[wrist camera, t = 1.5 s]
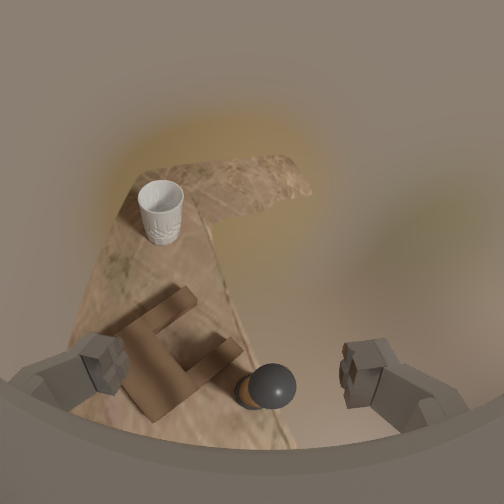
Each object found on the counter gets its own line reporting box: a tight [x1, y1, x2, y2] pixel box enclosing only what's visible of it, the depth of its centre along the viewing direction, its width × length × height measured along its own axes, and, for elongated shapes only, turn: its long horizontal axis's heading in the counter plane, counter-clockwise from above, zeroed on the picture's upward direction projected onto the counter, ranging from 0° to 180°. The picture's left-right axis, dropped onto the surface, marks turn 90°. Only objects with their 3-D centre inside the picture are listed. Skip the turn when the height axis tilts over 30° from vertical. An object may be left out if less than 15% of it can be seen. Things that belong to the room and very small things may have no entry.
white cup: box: [138, 180, 184, 245], centre depth 47 cm, size 8×8×10 cm
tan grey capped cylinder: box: [235, 363, 296, 410], centre depth 34 cm, size 7×6×11 cm
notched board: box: [113, 286, 244, 423], centre depth 38 cm, size 18×14×2 cm
